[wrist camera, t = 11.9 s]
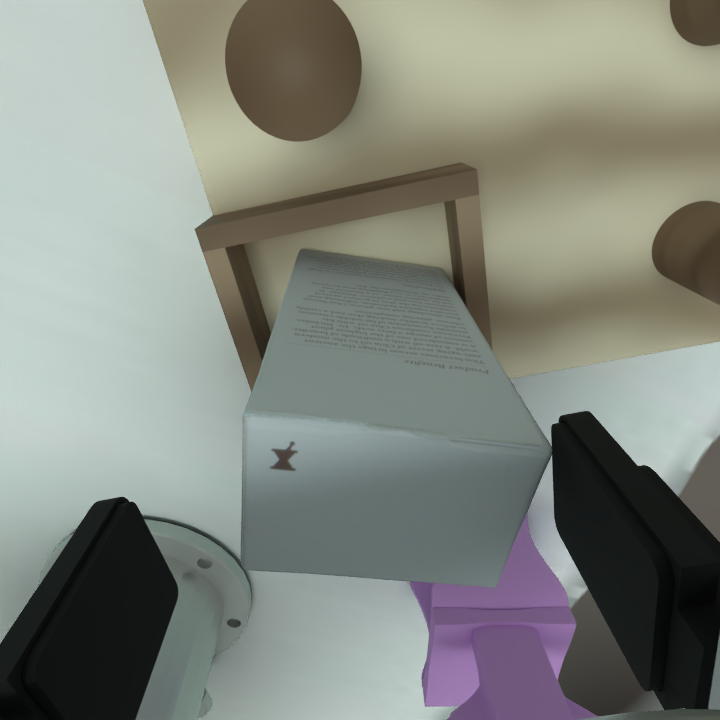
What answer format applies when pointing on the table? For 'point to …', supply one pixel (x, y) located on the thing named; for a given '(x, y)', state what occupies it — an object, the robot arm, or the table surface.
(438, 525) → the skincare box
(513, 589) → the toy chair
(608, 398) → the table surface
